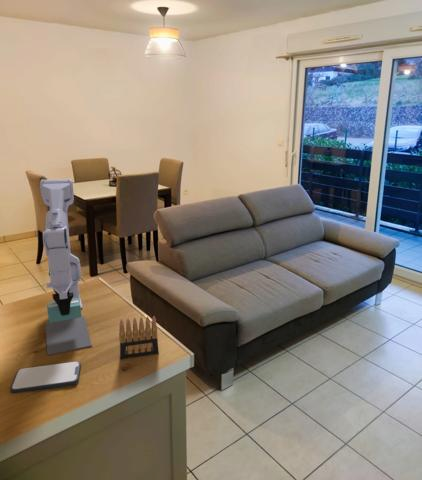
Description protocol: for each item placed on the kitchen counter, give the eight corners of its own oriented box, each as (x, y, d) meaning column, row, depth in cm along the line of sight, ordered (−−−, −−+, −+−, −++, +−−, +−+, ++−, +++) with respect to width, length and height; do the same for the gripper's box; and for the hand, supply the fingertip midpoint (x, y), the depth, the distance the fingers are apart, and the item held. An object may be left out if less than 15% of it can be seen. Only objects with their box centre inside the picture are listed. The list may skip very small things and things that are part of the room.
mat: (45, 324, 124) (45, 322, 124) (84, 316, 129) (84, 315, 128) (47, 355, 108) (47, 354, 108) (91, 346, 113) (91, 345, 113)
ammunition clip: (157, 350, 112) (156, 313, 108) (158, 353, 110) (157, 316, 106) (120, 355, 109) (117, 318, 105) (120, 359, 108) (117, 321, 104)
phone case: (9, 396, 94) (78, 386, 97) (8, 391, 94) (77, 381, 97) (18, 373, 102) (81, 364, 106) (17, 368, 102) (80, 359, 105)
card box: (79, 309, 120) (78, 297, 119) (81, 317, 116) (80, 304, 114) (48, 314, 117) (46, 302, 115) (49, 323, 112) (47, 310, 111)
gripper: (44, 261, 116) (49, 301, 120) (45, 280, 103) (51, 324, 108) (68, 258, 119) (73, 297, 123) (73, 276, 106) (77, 319, 111)
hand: (64, 310), depth 116 cm, fingers closed on card box, 5 cm apart
